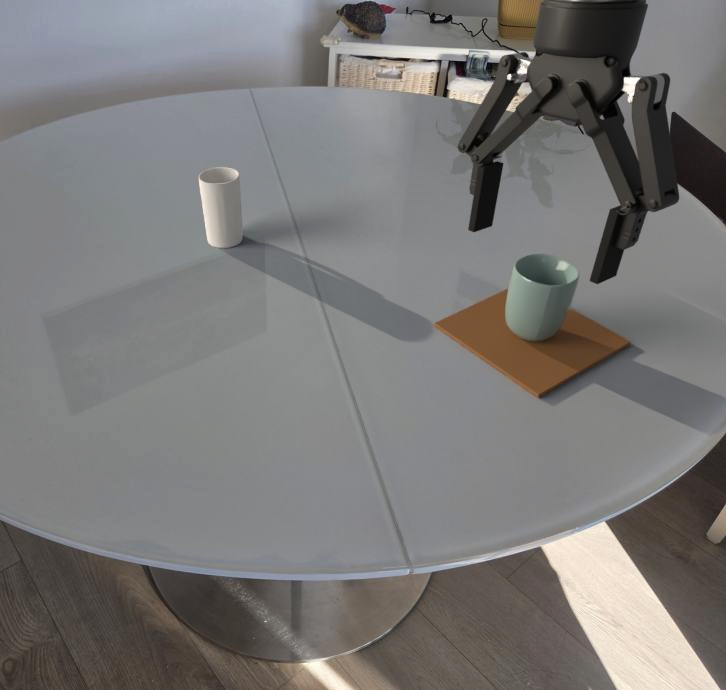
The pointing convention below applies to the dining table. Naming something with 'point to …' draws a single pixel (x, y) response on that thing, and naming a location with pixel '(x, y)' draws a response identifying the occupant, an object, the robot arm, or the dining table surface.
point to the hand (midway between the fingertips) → (536, 251)
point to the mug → (221, 206)
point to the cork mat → (531, 345)
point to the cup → (540, 296)
